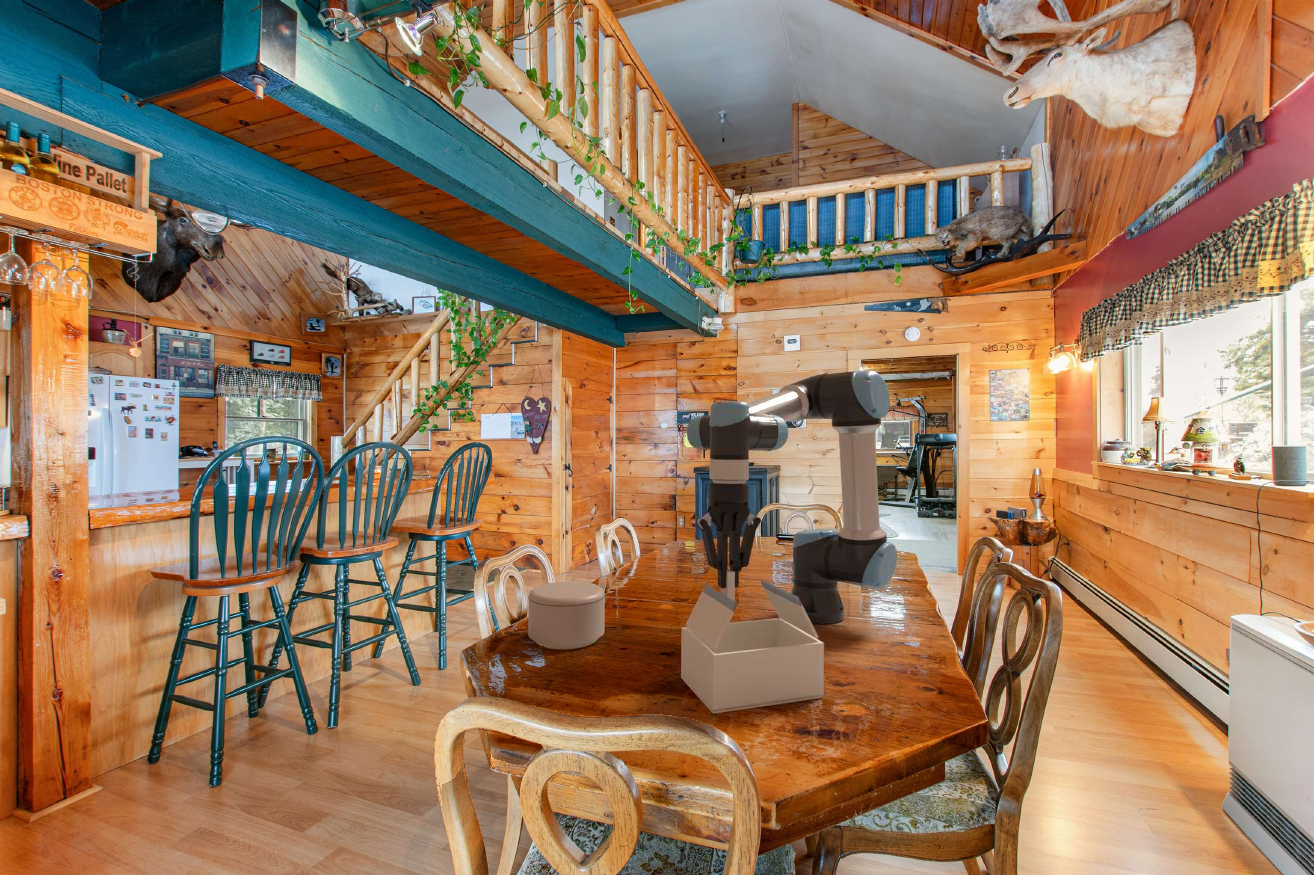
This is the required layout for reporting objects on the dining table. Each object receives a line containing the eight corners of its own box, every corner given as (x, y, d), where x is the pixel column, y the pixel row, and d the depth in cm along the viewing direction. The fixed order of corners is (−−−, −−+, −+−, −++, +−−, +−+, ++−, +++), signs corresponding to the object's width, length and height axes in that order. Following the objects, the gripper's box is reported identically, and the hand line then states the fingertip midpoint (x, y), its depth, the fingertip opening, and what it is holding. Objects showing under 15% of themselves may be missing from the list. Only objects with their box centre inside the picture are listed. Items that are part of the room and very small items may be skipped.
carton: (779, 665, 124) (780, 617, 124) (823, 697, 108) (823, 643, 108) (681, 677, 117) (681, 627, 117) (712, 713, 102) (713, 655, 102)
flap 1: (707, 585, 118) (705, 584, 118) (738, 603, 104) (736, 602, 104) (687, 625, 116) (685, 624, 116) (715, 649, 103) (713, 648, 103)
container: (553, 658, 127) (554, 603, 127) (514, 636, 141) (514, 587, 141) (619, 639, 139) (620, 590, 139) (577, 622, 153) (577, 576, 153)
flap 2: (778, 617, 122) (780, 615, 123) (816, 638, 109) (818, 637, 109) (760, 581, 121) (762, 579, 121) (796, 598, 108) (798, 597, 108)
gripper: (750, 480, 119) (749, 597, 119) (690, 480, 115) (689, 601, 115) (768, 482, 112) (767, 607, 112) (705, 483, 108) (704, 612, 108)
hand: (728, 604), depth 113 cm, fingers closed
